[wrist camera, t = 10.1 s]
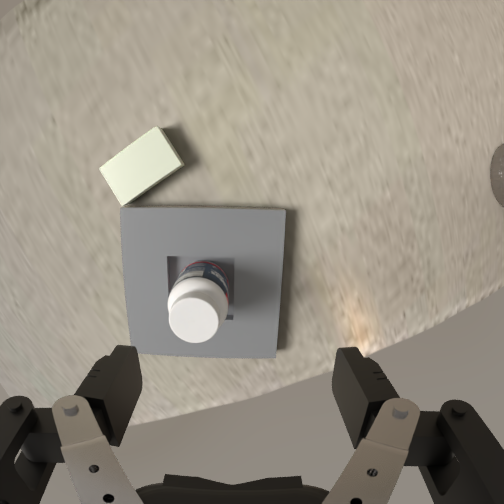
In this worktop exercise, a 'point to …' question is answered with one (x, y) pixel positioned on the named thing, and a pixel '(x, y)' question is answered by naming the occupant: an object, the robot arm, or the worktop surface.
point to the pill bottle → (198, 302)
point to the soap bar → (141, 166)
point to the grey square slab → (213, 250)
